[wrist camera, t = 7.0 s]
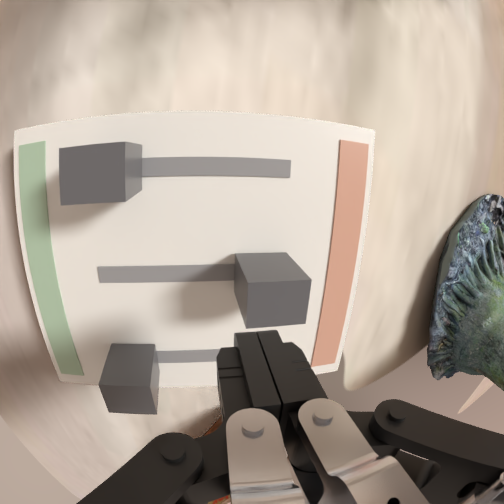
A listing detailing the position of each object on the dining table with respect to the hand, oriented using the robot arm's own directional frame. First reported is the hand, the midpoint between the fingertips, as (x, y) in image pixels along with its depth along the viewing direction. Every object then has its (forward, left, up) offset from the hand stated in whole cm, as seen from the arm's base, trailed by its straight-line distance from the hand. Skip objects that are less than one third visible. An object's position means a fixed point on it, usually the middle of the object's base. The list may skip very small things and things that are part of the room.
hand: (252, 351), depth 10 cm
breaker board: (+2, 0, -10) cm, 10 cm away
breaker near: (+6, -6, -7) cm, 11 cm away
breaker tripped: (-2, 0, -7) cm, 7 cm away
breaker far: (+6, +6, -7) cm, 11 cm away
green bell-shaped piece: (-28, +4, -10) cm, 30 cm away
